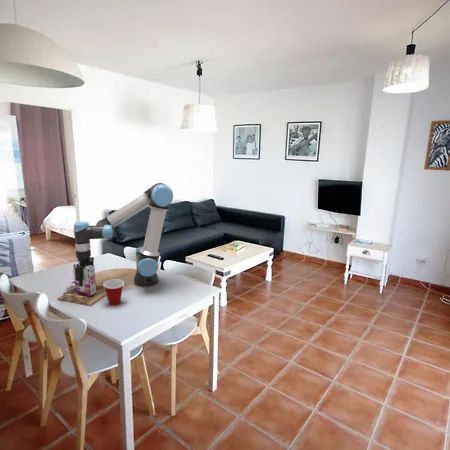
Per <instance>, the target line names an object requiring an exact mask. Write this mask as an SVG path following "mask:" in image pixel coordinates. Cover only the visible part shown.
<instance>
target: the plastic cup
mask: <svg viewBox="0 0 450 450" xmlns="http://www.w3.org/2000/svg"><path fill="white" fill-rule="evenodd" d="M102 285H103V287H104V290H106V294H107V296H106V299H107V301H108V304H109V305H110V306H117V305H119V304H120V303H121V301H122V299H121V298H122V294H123V293H122V292H123V287H124V285H125V282H124V280H122V279H116V278H114V279H108V280H105V281H104V282H103V284H102Z"/></svg>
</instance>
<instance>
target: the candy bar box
mask: <svg viewBox="0 0 450 450" xmlns="http://www.w3.org/2000/svg"><path fill="white" fill-rule="evenodd" d="M72 266H73V267H72V268H73V270H74V275H73V276H74V280H75V267H74V265H72ZM73 270H72V271H73ZM83 273H84V276H83V280H84V283H85V292H83V291H80V286H79V281H76V280H75V281H74V286H75V291H76V293H80V294H85V295H89V296H91V295H93V294H95V293H96V284H97V283H96V272H95V265H94V266H92V265H87V266H85V267H84V269H83Z"/></svg>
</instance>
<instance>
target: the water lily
mask: <svg viewBox="0 0 450 450" xmlns="http://www.w3.org/2000/svg"><path fill="white" fill-rule="evenodd" d="M70 274H71V275H73V276H71V279H70V282H71V283H73V282H75V280H74V270H72V271H70Z"/></svg>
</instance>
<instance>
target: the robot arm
mask: <svg viewBox="0 0 450 450" xmlns="http://www.w3.org/2000/svg"><path fill="white" fill-rule="evenodd" d="M173 199H174V193H173V190H172V189H171V188H170V186H169V185H167V184H166V183H163V182H157V183H155V184H153V185H152V186H150V187H149V188H148V189H146V190H144V191H143V193H142V194H141V195H139V196H138V197H136V198H135V199H133V200H132V201H130V202H129V203H127V204H125V205H124V206H122V207H120V208H119V209H118V210H116V211H114V212H112V213H111V214H109V215H108V216H106V217H104V218H103V219H100V220H98V221H97V222H96V223H95V224H96V225H90V223H89V222H88V221H77V222H75V223H74V224H73V235H74V245H75V256H76V258H77V262H76V263H74V264H73V266H74V267H75V280H76V281H79V286H80V291H83V292H85V283H84V280H83V276H84V273H83V269H84V267H85V266H87V265H92V266H94V267H95V263H94V261H95V260H94V259H95V257H94V256H93V257H92V251H91V248H92V247H91V240H102V239H103V240H105V239H111V238H113V229H114V228H115V227H117V226H119V225H120V224H122V223H124V222H125V221H127V220H128V219H131V218H132V217H133V216H135V215H136V214H138V213H140V212H141V211H143V210H144V209H146V208H148V207H149V208H150V213H149V218H148V222H147V226H146V227H147V228H146V233H145V238H144V240H143V241H144V242H143V245H142V246H140V247H136V249H135V261H136V262H135V263H136V272H135V275H134V279H133V283H134V282H135V283H136V284H137V285H136V284H135V283H134V284H135V285H136V286H138V287H151V286H154V285H156V284H158V283H159V276H158V273H157V272H158V269H159V259H160V252H159V251H158V250H159V247H160V242H161V237H162V233H163V227H164V224H165V218H166V213H167V212H169V210H170V208H171V204H172V202H173Z"/></svg>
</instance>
